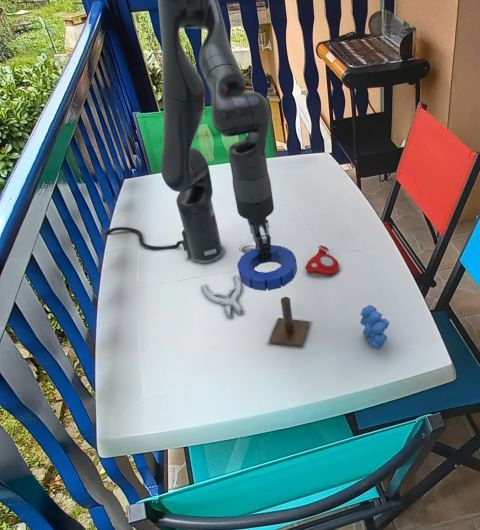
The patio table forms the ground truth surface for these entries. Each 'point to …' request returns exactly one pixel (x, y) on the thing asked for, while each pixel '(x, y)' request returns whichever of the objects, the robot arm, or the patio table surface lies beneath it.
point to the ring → (267, 278)
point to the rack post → (288, 327)
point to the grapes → (374, 326)
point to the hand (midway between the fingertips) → (263, 257)
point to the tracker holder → (322, 263)
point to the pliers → (229, 302)
